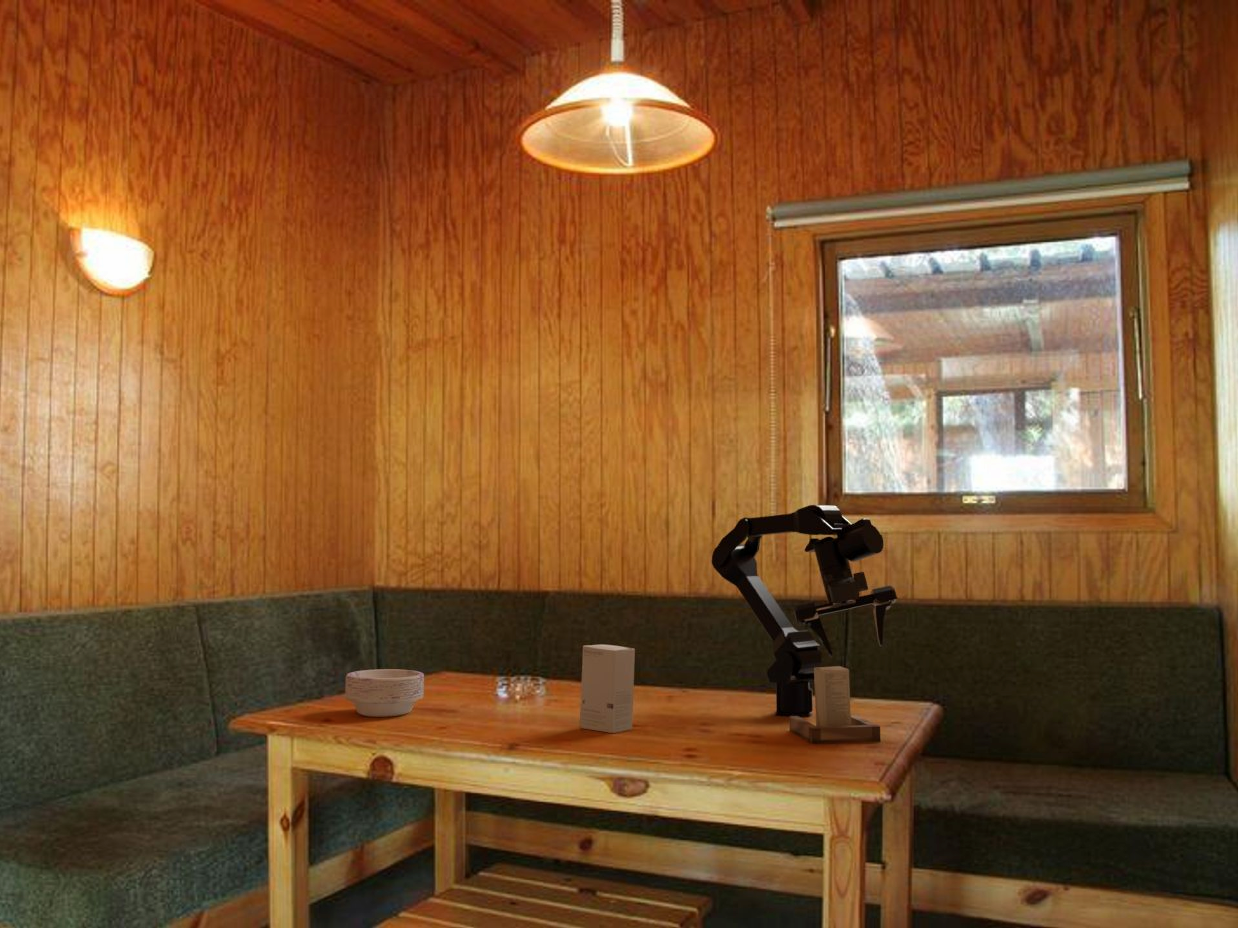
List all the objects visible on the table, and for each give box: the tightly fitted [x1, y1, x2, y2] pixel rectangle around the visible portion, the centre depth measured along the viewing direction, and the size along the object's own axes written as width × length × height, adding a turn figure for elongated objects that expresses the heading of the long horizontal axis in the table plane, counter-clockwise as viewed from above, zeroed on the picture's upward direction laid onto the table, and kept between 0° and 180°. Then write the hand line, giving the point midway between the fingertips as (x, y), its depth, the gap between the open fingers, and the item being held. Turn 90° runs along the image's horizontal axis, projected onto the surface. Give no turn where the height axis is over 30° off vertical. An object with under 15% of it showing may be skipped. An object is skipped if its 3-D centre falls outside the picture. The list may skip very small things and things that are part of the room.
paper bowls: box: [344, 668, 425, 718], centre depth 206 cm, size 15×15×8 cm
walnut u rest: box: [788, 713, 882, 745], centre depth 181 cm, size 12×12×2 cm
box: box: [813, 665, 852, 727], centre depth 181 cm, size 5×4×11 cm
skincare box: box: [579, 644, 636, 734], centre depth 189 cm, size 8×6×15 cm
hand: (856, 650), depth 192 cm, fingers open, 9 cm apart
